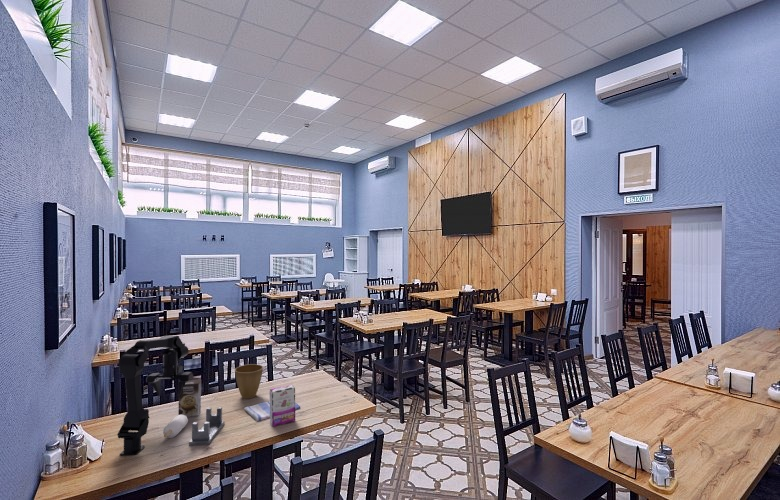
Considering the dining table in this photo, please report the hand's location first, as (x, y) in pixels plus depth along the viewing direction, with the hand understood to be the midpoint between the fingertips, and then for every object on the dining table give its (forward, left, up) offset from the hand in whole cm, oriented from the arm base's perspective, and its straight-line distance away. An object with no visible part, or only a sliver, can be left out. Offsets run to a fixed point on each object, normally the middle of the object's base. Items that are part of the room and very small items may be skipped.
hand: (169, 395), depth 175 cm
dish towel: (+12, -45, -14) cm, 49 cm away
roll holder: (-12, -22, -14) cm, 28 cm away
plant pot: (+31, -28, -14) cm, 44 cm away
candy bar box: (-3, -53, -14) cm, 55 cm away
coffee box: (+10, -5, -14) cm, 18 cm away
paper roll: (-9, -7, -11) cm, 15 cm away
